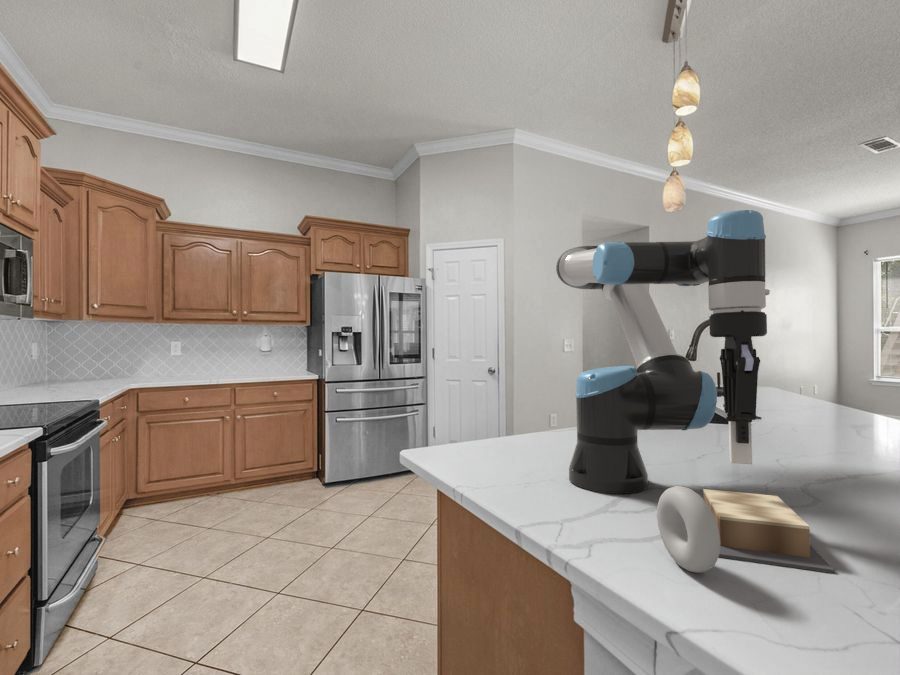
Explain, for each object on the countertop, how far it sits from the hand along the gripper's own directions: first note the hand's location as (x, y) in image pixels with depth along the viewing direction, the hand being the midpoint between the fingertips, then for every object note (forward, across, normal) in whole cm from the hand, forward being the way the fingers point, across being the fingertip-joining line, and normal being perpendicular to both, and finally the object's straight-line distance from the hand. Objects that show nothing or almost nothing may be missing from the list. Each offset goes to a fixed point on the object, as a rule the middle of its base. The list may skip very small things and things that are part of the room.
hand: (740, 462), depth 68 cm
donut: (+10, -18, +10) cm, 23 cm away
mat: (+9, -6, 0) cm, 11 cm away
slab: (+7, +1, 0) cm, 7 cm away
